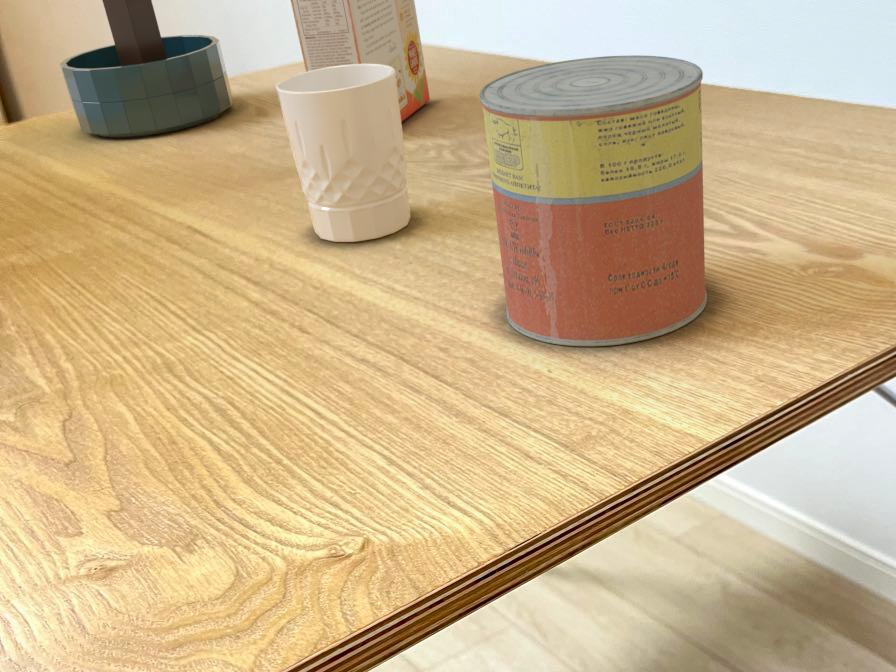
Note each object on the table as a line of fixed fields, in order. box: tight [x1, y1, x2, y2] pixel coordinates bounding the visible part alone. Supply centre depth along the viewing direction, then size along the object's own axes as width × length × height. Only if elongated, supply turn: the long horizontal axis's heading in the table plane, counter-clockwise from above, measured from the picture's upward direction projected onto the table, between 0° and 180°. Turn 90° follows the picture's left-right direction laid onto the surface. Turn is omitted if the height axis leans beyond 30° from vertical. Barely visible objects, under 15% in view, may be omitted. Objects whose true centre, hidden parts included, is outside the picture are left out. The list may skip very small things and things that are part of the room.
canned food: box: [478, 55, 708, 347], centre depth 61 cm, size 11×11×12 cm
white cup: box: [274, 64, 412, 243], centre depth 78 cm, size 8×8×10 cm
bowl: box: [59, 34, 234, 139], centre depth 114 cm, size 15×15×6 cm
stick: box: [101, 0, 167, 66], centre depth 112 cm, size 3×3×14 cm
